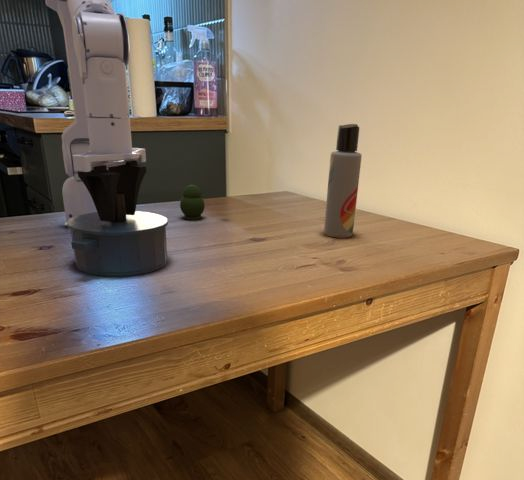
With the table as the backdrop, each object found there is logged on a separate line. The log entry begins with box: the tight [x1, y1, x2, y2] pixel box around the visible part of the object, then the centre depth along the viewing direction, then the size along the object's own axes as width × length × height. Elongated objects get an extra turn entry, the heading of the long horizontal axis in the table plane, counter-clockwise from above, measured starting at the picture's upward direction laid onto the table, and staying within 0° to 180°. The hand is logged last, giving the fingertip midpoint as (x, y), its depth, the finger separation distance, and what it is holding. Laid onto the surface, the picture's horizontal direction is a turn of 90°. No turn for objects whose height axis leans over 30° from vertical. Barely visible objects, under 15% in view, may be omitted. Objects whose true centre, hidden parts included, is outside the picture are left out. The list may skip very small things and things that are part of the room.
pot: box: [70, 226, 168, 277], centre depth 76 cm, size 14×19×6 cm
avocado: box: [179, 184, 206, 221], centre depth 106 cm, size 5×5×7 cm
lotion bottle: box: [323, 123, 363, 239], centre depth 94 cm, size 6×6×20 cm
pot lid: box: [66, 192, 169, 236], centre depth 74 cm, size 15×15×5 cm
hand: (118, 217), depth 74 cm, fingers open, 5 cm apart
